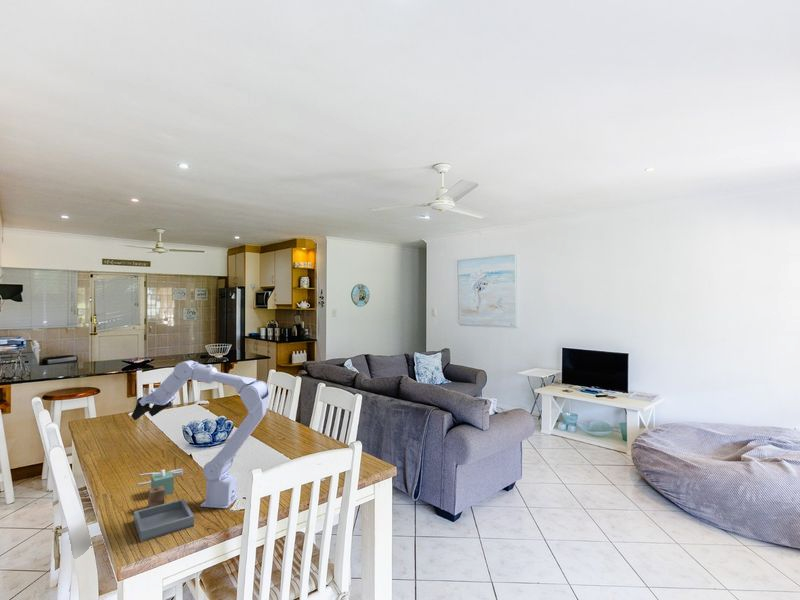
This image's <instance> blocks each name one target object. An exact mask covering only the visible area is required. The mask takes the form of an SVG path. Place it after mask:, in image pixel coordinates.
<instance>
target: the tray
mask: <svg viewBox="0 0 800 600" xmlns="http://www.w3.org/2000/svg"><path fill="white" fill-rule="evenodd" d="M133 523H134V524H133V525H134V527H135V529H136V530H135V531H136V532H137V535H138V536H137V537H138V539H139V542H140V543H143V542H145V541H150V540H152V539H156V538H159V537H164V536H166V535H168V534H173V533H176V532H180V531H183V530H186V529H189V528H192V527H194V526H195V515H194V513H193V512H192V510H191V509H190V507H189V506H188V503H187V502H186V500H185V499H184V498H181V499H177V500H174V501H171V502H169V501H168V502H166V503H165V502H164V504H161V505H158V506H154V507H150V508H148V507H146V508H143V509H139V510H135V511H133Z"/></svg>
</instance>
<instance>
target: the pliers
mask: <svg viewBox="0 0 800 600" xmlns="http://www.w3.org/2000/svg"><path fill="white" fill-rule="evenodd" d="M170 471H171V473H172V475H173V476H174V477H177V476H183V474H184V469H183V468H179V469H171V470H170ZM159 473H160V471H158V472H157V471H155V472H154V471H153V472H146V473H141V474H139V475H138V476H139V477H142V476H151V475H154V474H159ZM148 484H151V480H149V481H143V482H139V483H137V486H142V485H148Z"/></svg>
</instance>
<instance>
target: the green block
mask: <svg viewBox="0 0 800 600" xmlns="http://www.w3.org/2000/svg"><path fill="white" fill-rule="evenodd" d="M171 471H172V470H169V471H166V469H161V470H160V471H159V472H160V473H159V474H154V475H150V476H151V477H150V478H151V479H150V481H151V483H150V488H154V487H158V486H163V488H164V489H165V496H166V495H173V494H174V482H175V481H174V480H175V478H174V477H175V476H173V475H172V473H171Z"/></svg>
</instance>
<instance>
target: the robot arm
mask: <svg viewBox="0 0 800 600" xmlns="http://www.w3.org/2000/svg"><path fill="white" fill-rule="evenodd" d="M189 380H193V381H196V382H201V383H205V384H209V385H210V384H213V383H214V382H215V383H216V382H217V383H219V384H223V385H226V386H229V387H234V388H235V391H236V394H237V395H238V394H239V396H240V400H241V402H242V404H243V405H244V406H245V408H246V410H247V413H248V414H247V415H246V416H245V418H244V419H243V421H242V422H241V423H240V424H239V426H238V427H237V428H236V430H235V431H234V433H233V434H232V435H231V436H230V438H229V440H228V441H227V442H226V443H225V444H224V446H223V447H222V448H221V450H220V451H218V453H217V454H216V455H215V456H214V457H213V458H212V459H211V460H210V461H208V462H207V463H205V464H204V466H203V468H202V474H203V476H204V478H206V483H205V484H206V486H205V500H204V501H203V502H202V503H201V504H200V505H199V506H200V507H201V508H203V507H204V508H215V509H228V508H229V507H230V506H231V505H232V504H233V503H234V502H235V501H236V500H237V499H238V498H239V497H238V478H237V477H235V476H232V475H231V474H230V468H231V467H232V466H233V463H234V459H235V457H236V456H237V453H238V452H239V451H240V449H241V448H242V446H243V445H244V444H245V442H246V441H247V440H248V438H250V436H251V435H252V433H253V432H254V431H255V429H256V428H257V427H258V425H259V424H260V422H261V421H262V420H263V418H265V415H266V414H267V410H268V409H267V408H268V400H269V397H270V389H269V385H267V383H266V382H265V381H264V380H263V381H262V380H257V379H256V378H254V377H248V376H242V375H241V376H240V375H236V374H232V373H226V372H220V371H219V369H217V367H215V366H213V364H203V363H199V362H198V361H194V360H191V359H190V360H185V361H181V362H179V363H177V364H176V365H175V366H174V368H173V371H172V372H171V373H170V374H169V375H168V376H167V377H166V378H165V380H163V381H162V382H161V383H160V385H159V386H158V387H157V388H152V389H150V393H149V394H147V395H146V396H140V397H138V398H137V400H136V405H135V408H134V409H133V412H132V414H131V415H130V416H131V417H132V419H133V421H137V420H138V419H140V418H141V417H142V416H144V414H146V413H148V414H149V416H151V417H154V416H156V415H157V414H159V413H160V412H161V411H164V410H165V409H167V408H170V407H172V406H173V401H174V400H175V399H176V398H177V395H176V394H177V392H179V391H180V390H181V388H182V387H184V386H185V384H186V383H187V382H188V381H189ZM150 405H152V406H150Z"/></svg>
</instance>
